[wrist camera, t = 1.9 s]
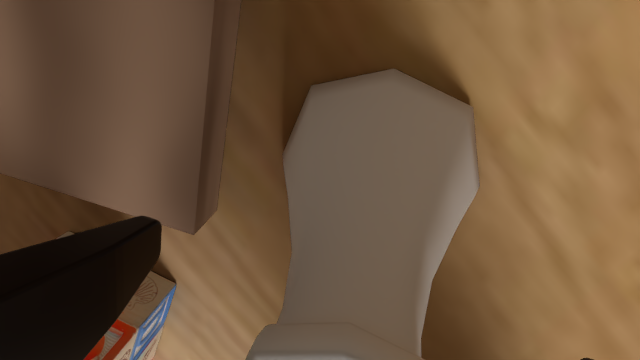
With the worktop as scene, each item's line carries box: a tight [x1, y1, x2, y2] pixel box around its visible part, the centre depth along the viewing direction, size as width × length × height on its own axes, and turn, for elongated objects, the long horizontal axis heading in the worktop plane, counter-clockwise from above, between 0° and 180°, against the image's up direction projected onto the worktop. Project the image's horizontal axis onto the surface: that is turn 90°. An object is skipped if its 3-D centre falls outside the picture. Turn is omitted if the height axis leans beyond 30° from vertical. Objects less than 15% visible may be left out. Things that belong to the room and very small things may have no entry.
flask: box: [245, 69, 480, 360], centre depth 10 cm, size 7×7×10 cm
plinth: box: [0, 0, 241, 235], centre depth 14 cm, size 10×10×2 cm
